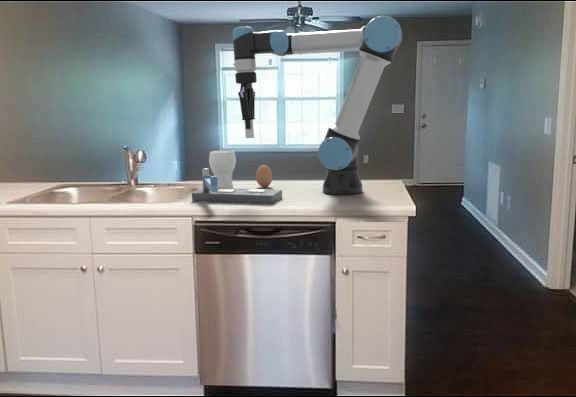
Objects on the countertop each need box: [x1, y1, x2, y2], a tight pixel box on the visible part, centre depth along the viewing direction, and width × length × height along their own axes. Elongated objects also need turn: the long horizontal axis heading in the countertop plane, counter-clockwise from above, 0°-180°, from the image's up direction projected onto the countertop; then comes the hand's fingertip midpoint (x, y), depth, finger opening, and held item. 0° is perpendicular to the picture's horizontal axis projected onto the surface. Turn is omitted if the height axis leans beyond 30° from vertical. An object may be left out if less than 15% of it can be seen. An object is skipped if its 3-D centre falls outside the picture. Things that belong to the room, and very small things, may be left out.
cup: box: [208, 150, 237, 188], centre depth 225 cm, size 11×11×15 cm
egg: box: [255, 164, 273, 188], centre depth 228 cm, size 7×7×9 cm
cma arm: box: [202, 174, 218, 192], centre depth 193 cm, size 20×3×6 cm, turn 16°
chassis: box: [191, 167, 283, 205], centre depth 202 cm, size 30×12×11 cm, turn 74°
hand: (249, 137), depth 206 cm, fingers closed
